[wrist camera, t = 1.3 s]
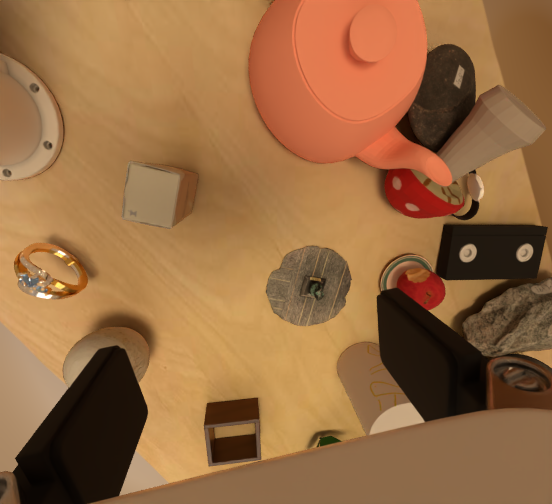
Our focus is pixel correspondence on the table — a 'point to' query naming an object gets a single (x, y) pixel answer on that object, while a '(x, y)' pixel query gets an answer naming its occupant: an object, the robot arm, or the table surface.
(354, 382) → the cup
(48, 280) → the ring
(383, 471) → the robot arm
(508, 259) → the vhs tape
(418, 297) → the apple
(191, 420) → the table surface
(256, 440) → the wooden frame
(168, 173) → the box
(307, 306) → the sculpture
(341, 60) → the teapot
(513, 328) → the rock
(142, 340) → the decorative object
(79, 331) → the table surface
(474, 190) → the watch
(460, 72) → the stone
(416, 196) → the decorative mushroom
